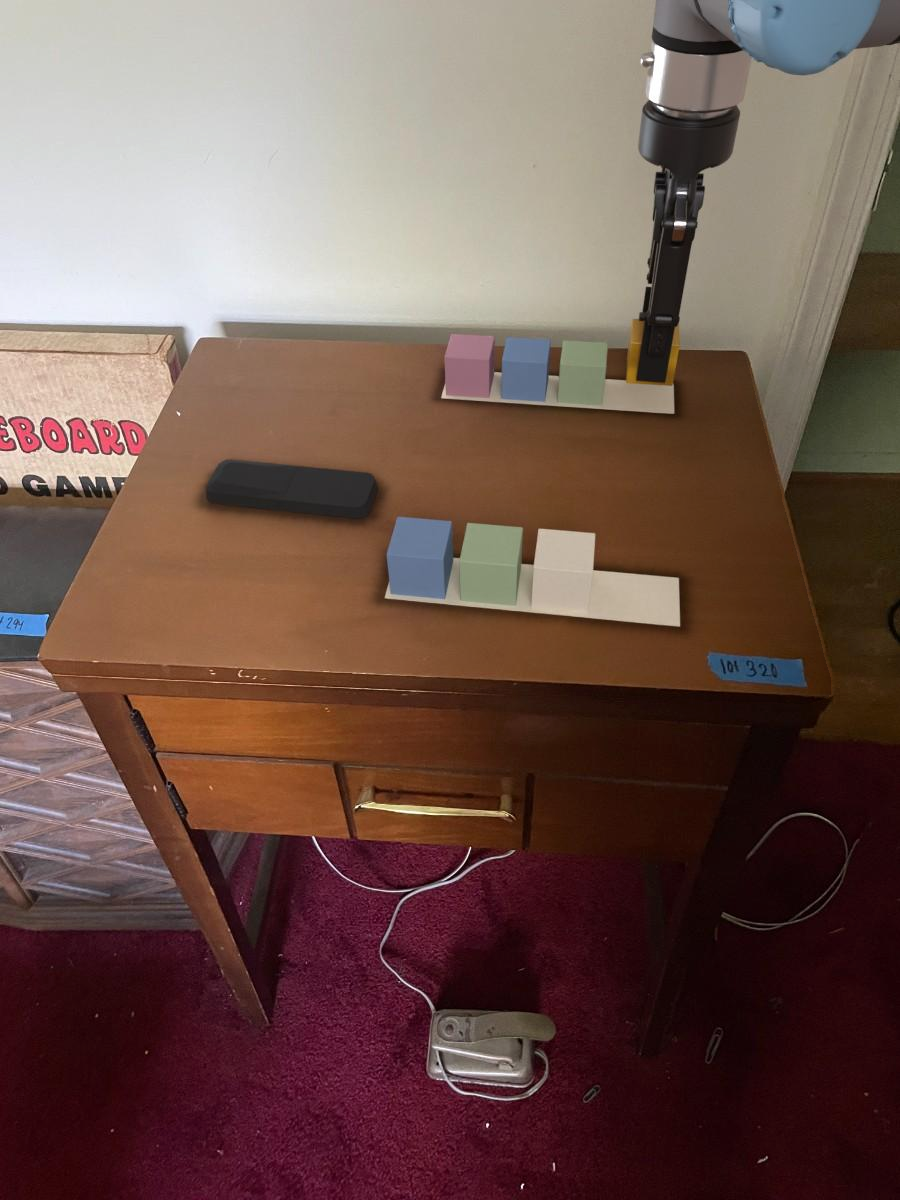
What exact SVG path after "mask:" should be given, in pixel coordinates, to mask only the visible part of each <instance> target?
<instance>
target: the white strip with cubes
mask: <svg viewBox="0 0 900 1200" xmlns="http://www.w3.org/2000/svg"><path fill="white" fill-rule="evenodd" d="M523 537H524V528H523V526H512V525H499V524H490V523H489V524H486V523H477V522H476V523H475V522H467V523H466V528H465V532H464V538H463V542H462V546H461V551H460V556H459V557H454V539H453V538H454V534H453V521H452V520H443V519H429V518H420V517H419V518H418V517H407V516H397V517H396V521H395V524H394V528H393V531H392V534H391V537H390V541H389V544H388V546H387V547H388V548H387V550H386V563H387V572H388V573H387V574H388V585H387V588H386V591H385V595H384V599H388V600H396V601H397V600H398V601H409V602H418V603H419V602H420V603H428V604H440V605H449V606H450V605H451V606H461V607H470V608H482V609H491V610H502V611H511V612H512V611H514V612H523V613H532V614H533V613H534V614H543V615H555V616H564V617H565V616H566V617H576V618H585V619H595V620H604V621H605V620H607V621H618V622H627V623H637V624H638V623H639V624H647V625H656V626H657V625H658V626H668V627H669V626H670V627H681V610H680V609H681V607H680V605H681V604H680V603H681V602H680V578H679V577H673V576H664V575H663V576H662V575H652V574H651V575H650V574H641V573H640V574H639V573H628V572H617V571H608V570H607V571H606V570H594V565H595V564H594V562H595V550H596V549H595V548H596V547H595V546H596V533H595V532H584V531H574V530H573V531H571V530H563V529H562V530H561V529H549V528H538V530H537V538H536V546H535V552H534V561H533V564H528V563H522V560H523V559H522V558H523V539H524V538H523Z"/></svg>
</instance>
